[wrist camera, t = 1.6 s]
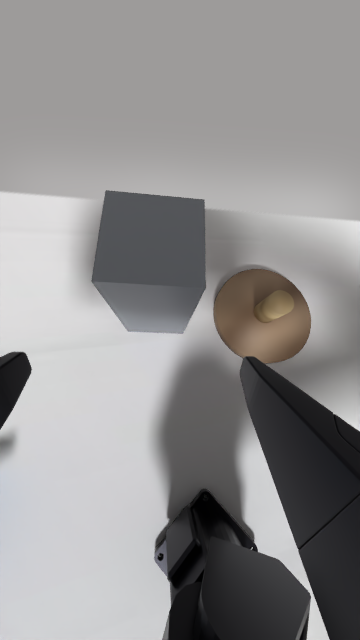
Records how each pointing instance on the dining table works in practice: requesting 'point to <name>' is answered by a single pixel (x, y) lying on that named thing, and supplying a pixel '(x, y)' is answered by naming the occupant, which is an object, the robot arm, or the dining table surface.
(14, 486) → the dining table surface
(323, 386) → the dining table surface
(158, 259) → the block
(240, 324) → the stub base
